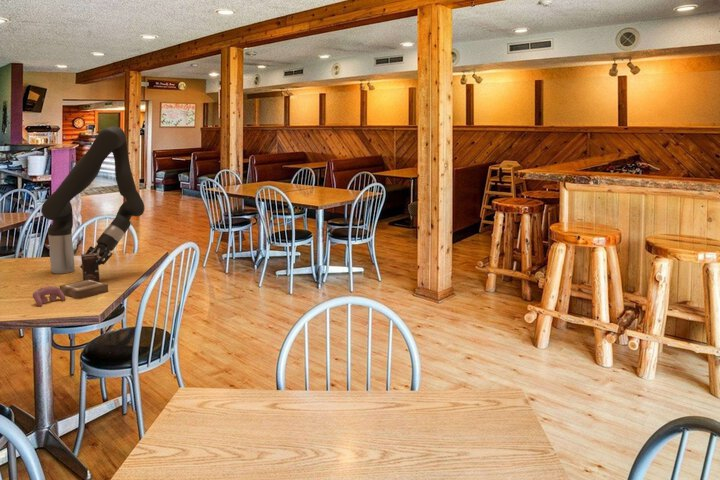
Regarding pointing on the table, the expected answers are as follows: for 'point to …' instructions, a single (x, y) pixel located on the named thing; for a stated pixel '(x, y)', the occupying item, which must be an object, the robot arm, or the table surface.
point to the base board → (84, 288)
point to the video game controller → (53, 291)
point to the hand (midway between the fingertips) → (86, 269)
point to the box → (86, 264)
